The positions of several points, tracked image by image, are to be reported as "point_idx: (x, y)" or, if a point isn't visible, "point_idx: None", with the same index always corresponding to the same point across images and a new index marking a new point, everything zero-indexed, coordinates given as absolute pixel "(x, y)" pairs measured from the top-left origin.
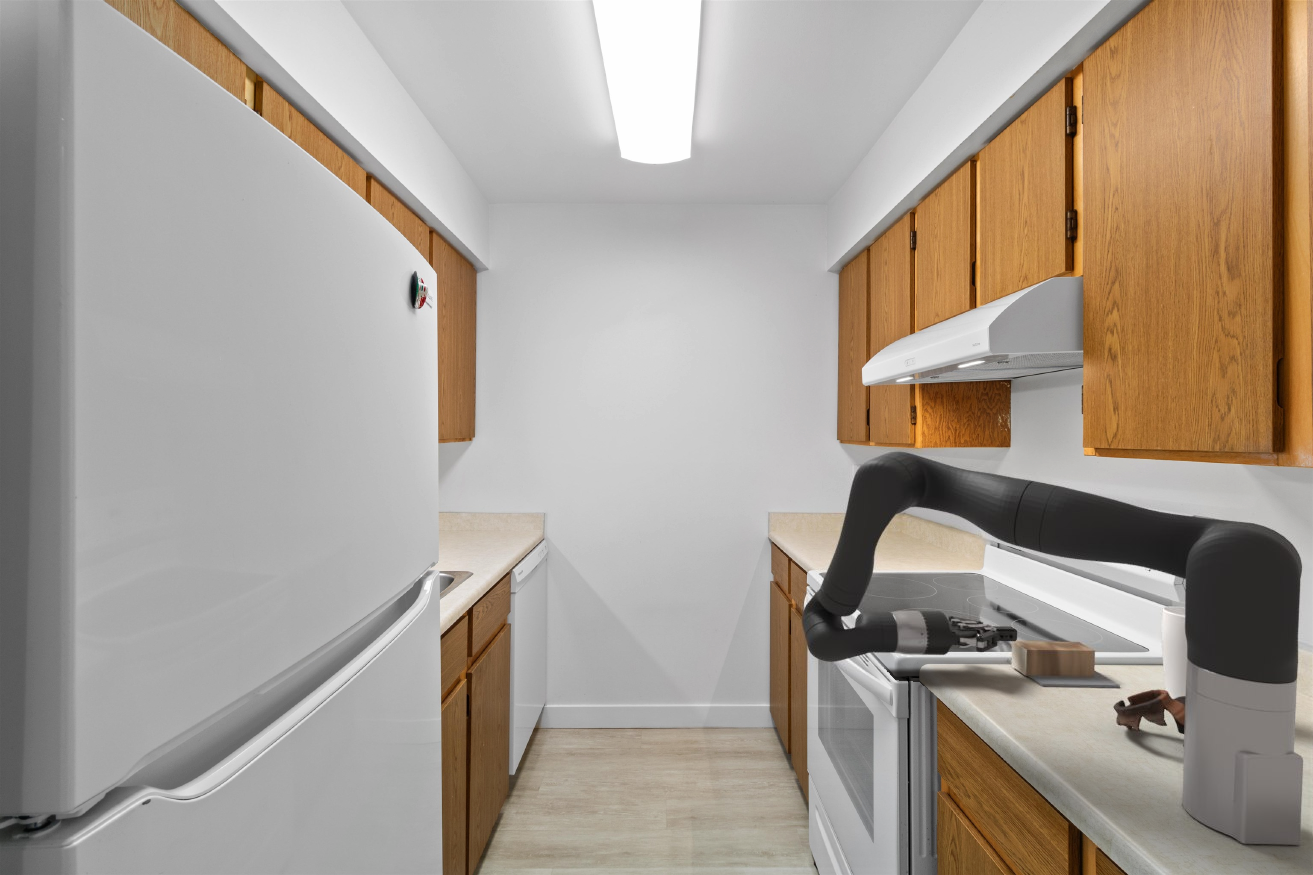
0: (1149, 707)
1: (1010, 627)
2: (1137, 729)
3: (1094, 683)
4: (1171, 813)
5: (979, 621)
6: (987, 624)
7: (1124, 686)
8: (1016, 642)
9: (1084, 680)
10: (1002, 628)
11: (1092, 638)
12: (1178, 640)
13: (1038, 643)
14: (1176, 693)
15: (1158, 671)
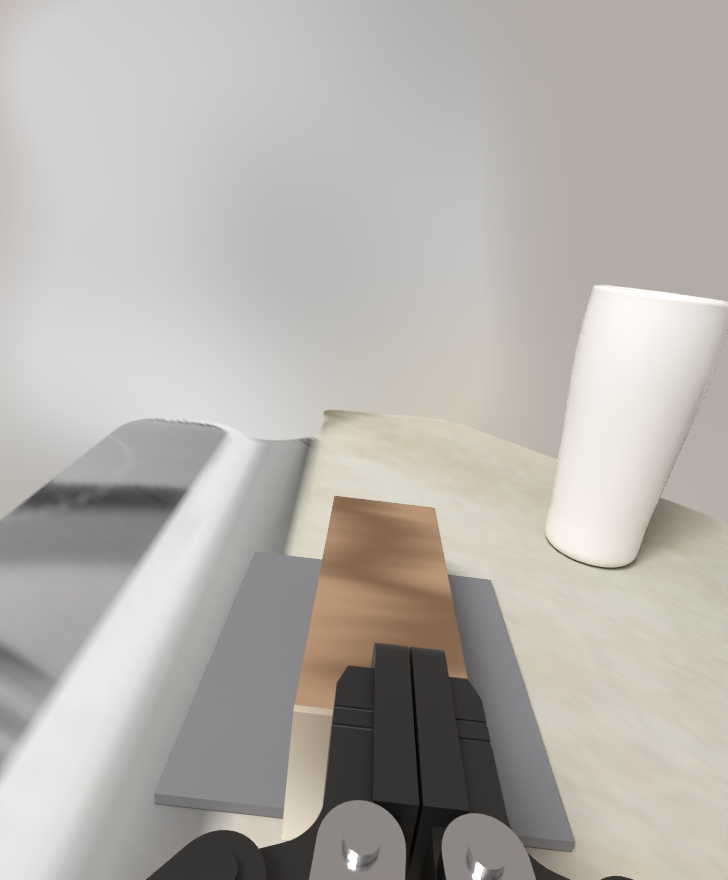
0: None
1: (404, 661)
2: None
3: (492, 628)
4: None
5: (219, 876)
6: (359, 840)
7: (473, 573)
8: (325, 701)
9: (469, 639)
10: (444, 740)
11: (101, 446)
12: (701, 385)
13: (348, 609)
14: (636, 533)
15: (351, 475)
